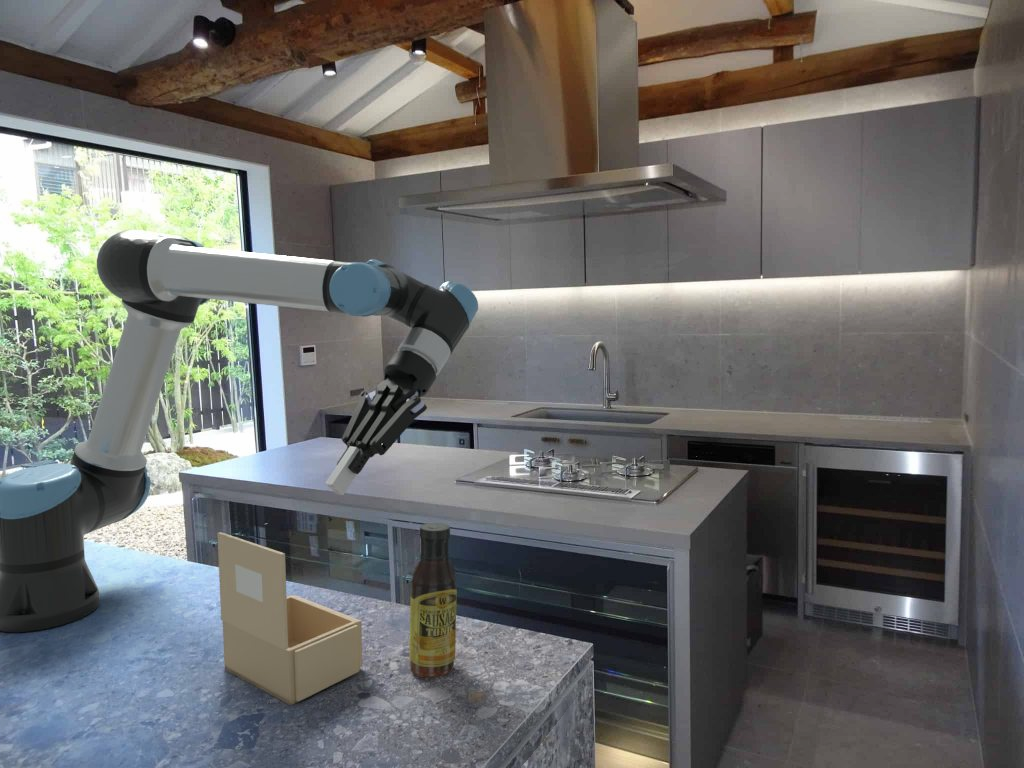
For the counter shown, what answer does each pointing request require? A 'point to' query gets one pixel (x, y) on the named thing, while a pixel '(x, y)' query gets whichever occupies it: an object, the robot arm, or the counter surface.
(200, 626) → the counter surface
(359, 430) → the robot arm
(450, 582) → the sauce bottle
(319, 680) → the wooden box
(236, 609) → the flap
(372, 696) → the counter surface
